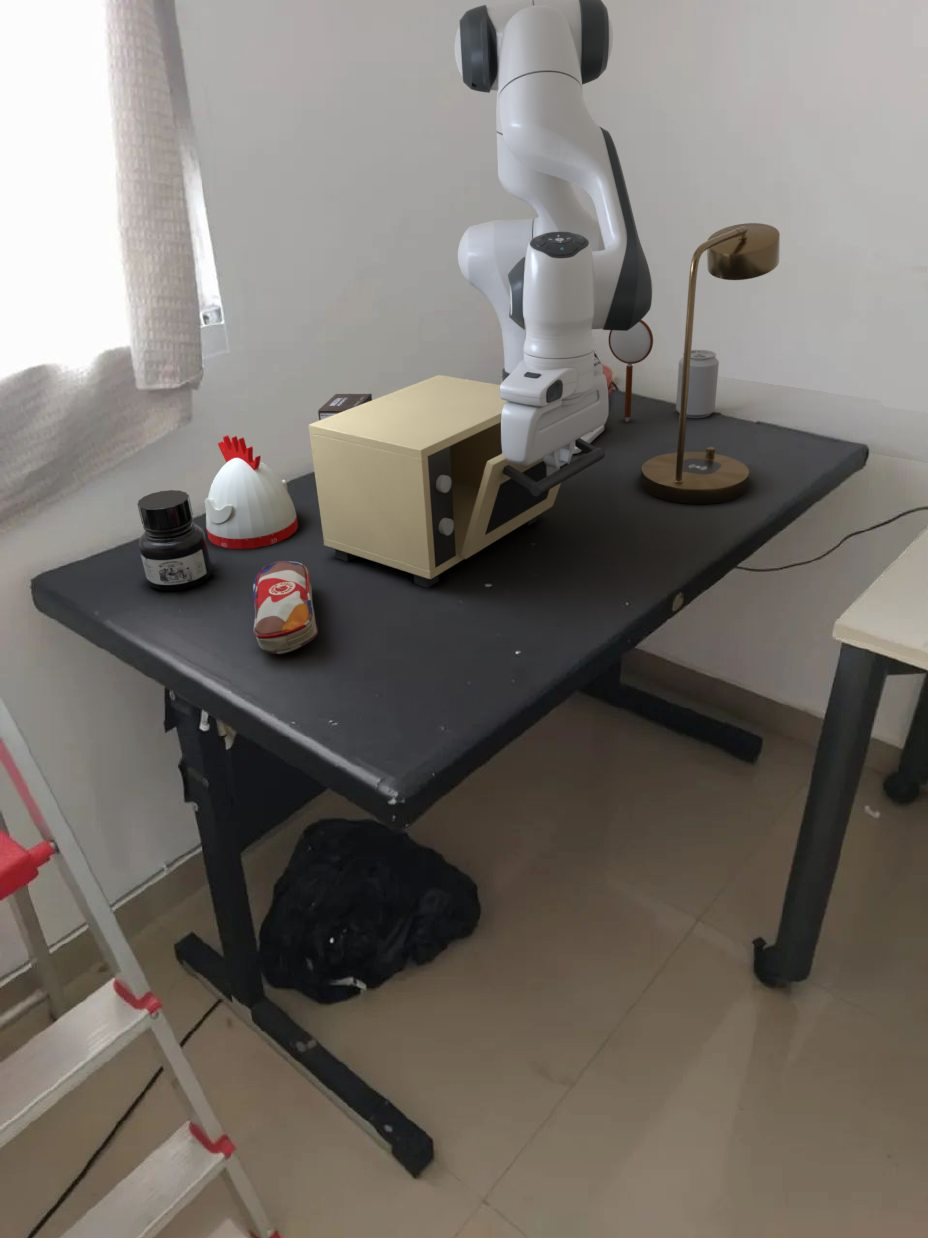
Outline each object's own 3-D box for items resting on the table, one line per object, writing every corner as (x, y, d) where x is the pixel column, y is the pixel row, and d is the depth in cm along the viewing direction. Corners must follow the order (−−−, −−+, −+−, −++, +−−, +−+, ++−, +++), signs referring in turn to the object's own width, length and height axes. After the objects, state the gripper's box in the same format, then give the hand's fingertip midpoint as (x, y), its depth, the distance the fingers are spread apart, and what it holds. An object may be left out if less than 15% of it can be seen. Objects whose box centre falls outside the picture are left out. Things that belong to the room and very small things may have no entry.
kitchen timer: (255, 506, 156) (240, 417, 148) (316, 522, 148) (303, 430, 141) (189, 536, 146) (169, 443, 139) (251, 556, 139) (233, 459, 131)
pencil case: (224, 661, 113) (217, 625, 111) (262, 585, 130) (257, 553, 128) (314, 660, 113) (309, 624, 110) (341, 584, 130) (337, 551, 127)
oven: (446, 494, 156) (438, 374, 146) (552, 521, 144) (551, 393, 135) (325, 557, 137) (308, 424, 127) (436, 594, 126) (426, 451, 116)
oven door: (547, 502, 143) (578, 414, 133) (585, 526, 140) (619, 438, 130) (460, 555, 128) (486, 461, 118) (500, 583, 126) (531, 489, 116)
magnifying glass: (604, 420, 186) (607, 316, 176) (607, 418, 187) (611, 314, 177) (647, 425, 182) (652, 319, 172) (650, 422, 183) (655, 317, 173)
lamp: (783, 458, 163) (813, 222, 145) (723, 512, 144) (749, 249, 126) (690, 443, 172) (707, 218, 154) (622, 492, 153) (632, 243, 135)
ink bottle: (138, 595, 130) (118, 514, 124) (153, 566, 137) (135, 489, 131) (209, 590, 130) (192, 509, 124) (220, 562, 138) (205, 485, 132)
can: (676, 419, 184) (680, 357, 178) (675, 407, 191) (679, 347, 185) (715, 419, 183) (720, 357, 177) (713, 407, 189) (718, 347, 184)
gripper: (581, 350, 128) (579, 448, 135) (490, 389, 114) (494, 495, 121) (622, 356, 124) (618, 456, 131) (533, 397, 111) (534, 506, 117)
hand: (558, 475), depth 126 cm, fingers closed, pressing on oven door
